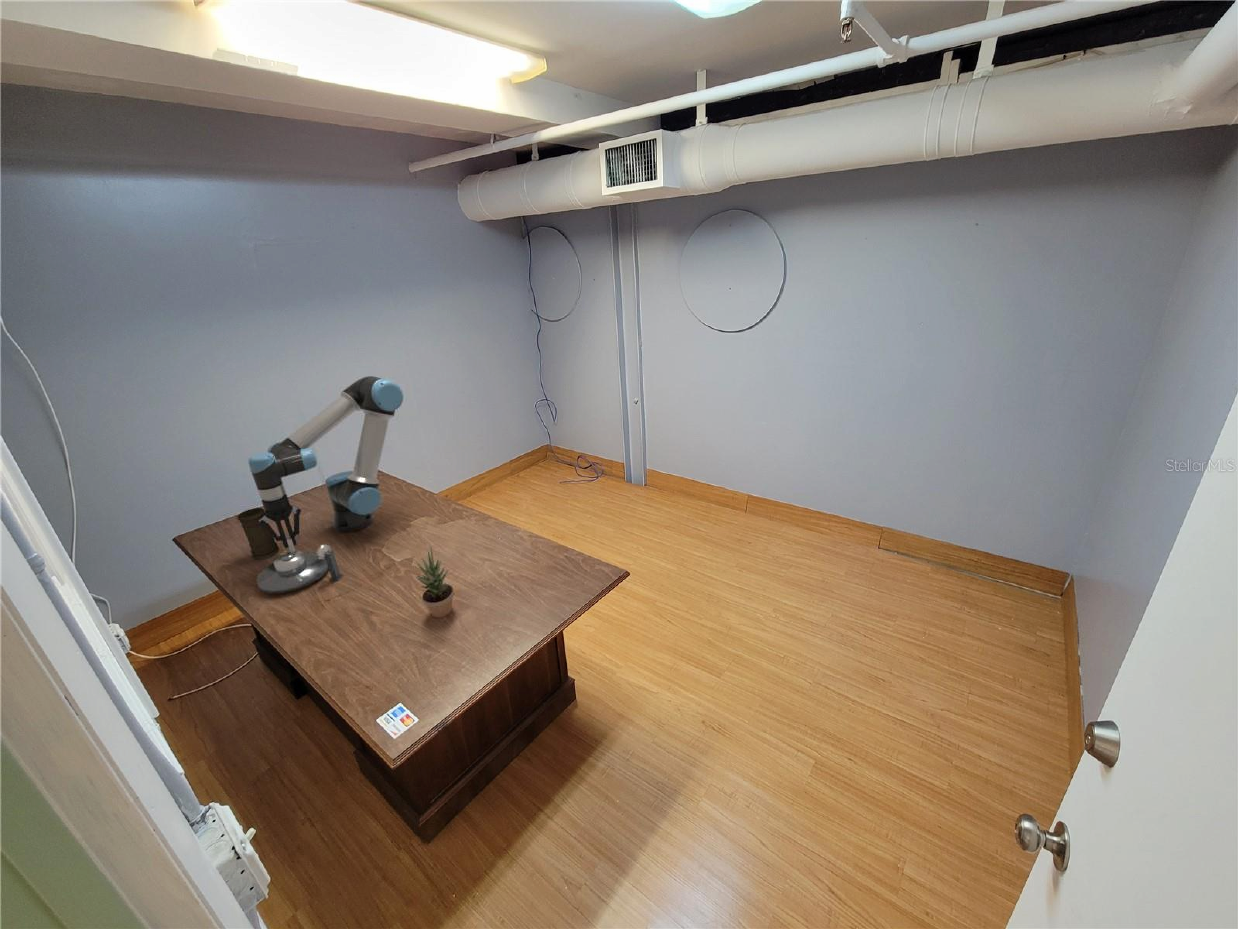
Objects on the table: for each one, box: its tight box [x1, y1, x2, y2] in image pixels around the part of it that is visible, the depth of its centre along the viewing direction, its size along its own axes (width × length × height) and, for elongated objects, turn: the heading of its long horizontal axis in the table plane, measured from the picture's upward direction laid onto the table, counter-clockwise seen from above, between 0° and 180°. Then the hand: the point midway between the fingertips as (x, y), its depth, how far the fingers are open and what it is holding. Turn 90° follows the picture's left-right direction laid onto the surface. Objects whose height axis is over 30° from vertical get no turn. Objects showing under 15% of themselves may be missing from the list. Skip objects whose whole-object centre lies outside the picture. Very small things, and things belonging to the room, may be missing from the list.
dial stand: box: [316, 544, 344, 582], centre depth 174 cm, size 4×5×14 cm
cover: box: [272, 550, 307, 578], centre depth 175 cm, size 9×9×6 cm
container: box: [237, 507, 280, 560], centre depth 190 cm, size 9×9×18 cm
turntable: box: [256, 549, 329, 595], centre depth 176 cm, size 22×22×5 cm
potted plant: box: [415, 544, 455, 618], centre depth 153 cm, size 10×10×25 cm
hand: (293, 553), depth 183 cm, fingers closed
